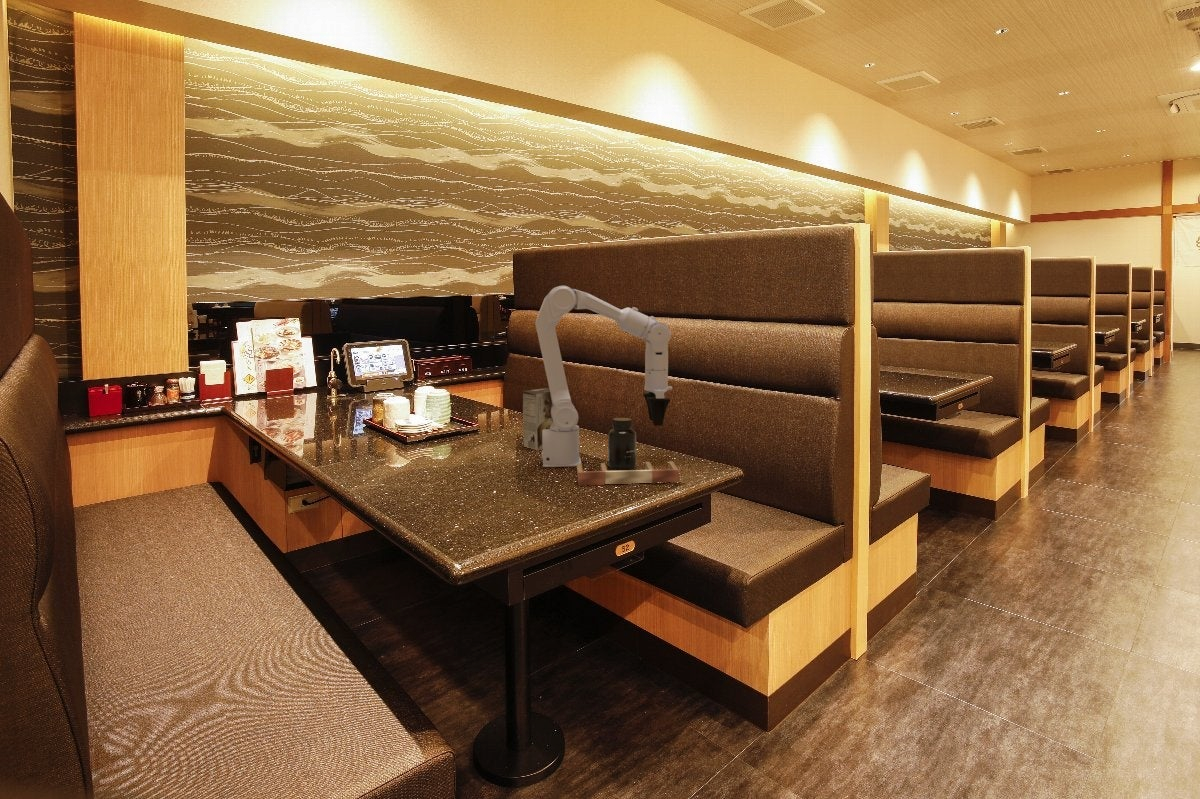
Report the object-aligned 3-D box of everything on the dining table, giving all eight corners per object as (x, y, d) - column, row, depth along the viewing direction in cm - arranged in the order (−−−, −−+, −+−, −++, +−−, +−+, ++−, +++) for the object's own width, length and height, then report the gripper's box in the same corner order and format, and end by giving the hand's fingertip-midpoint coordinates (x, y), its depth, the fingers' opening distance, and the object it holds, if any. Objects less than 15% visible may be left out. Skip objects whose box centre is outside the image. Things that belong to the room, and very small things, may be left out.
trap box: (578, 485, 154) (578, 472, 153) (577, 475, 162) (577, 463, 162) (678, 483, 155) (678, 470, 155) (672, 473, 163) (672, 461, 163)
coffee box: (547, 442, 199) (546, 387, 197) (562, 446, 195) (561, 389, 192) (522, 448, 193) (521, 390, 190) (537, 451, 188) (536, 392, 186)
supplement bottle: (633, 471, 166) (633, 422, 164) (605, 470, 167) (605, 421, 166) (638, 464, 173) (637, 417, 171) (611, 463, 174) (610, 416, 172)
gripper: (677, 372, 167) (676, 427, 169) (667, 366, 181) (667, 417, 183) (647, 372, 166) (647, 428, 168) (641, 366, 181) (640, 417, 183)
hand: (655, 422), depth 176 cm, fingers open, 7 cm apart
